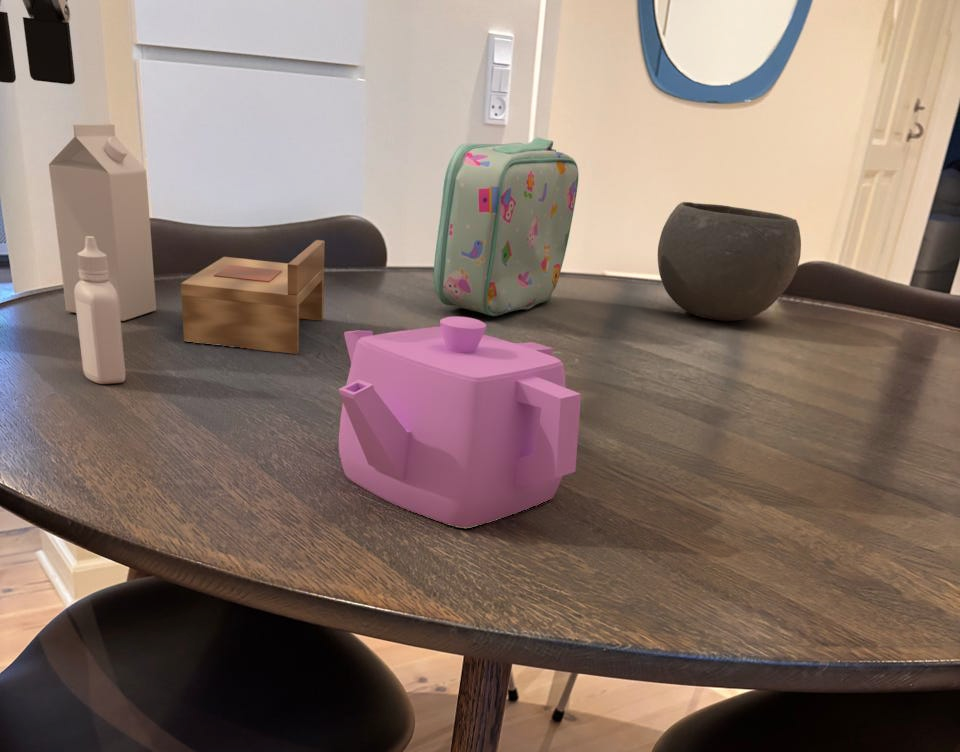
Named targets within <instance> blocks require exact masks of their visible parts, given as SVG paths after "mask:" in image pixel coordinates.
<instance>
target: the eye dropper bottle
mask: <svg viewBox="0 0 960 752" xmlns="http://www.w3.org/2000/svg"><path fill="white" fill-rule="evenodd" d="M77 260H78V269H79V277H80V278H82V279H81V280H80V281H79V282H78V283H77V284H76V286H75V290H74V295H75V304H76V313H75V314H76V321H77V330H78V338H79V339H78V340H79V346H80V356H81V364H82V365H81V366H82V372H83V374H84V376H85V378H87V379H88V380H89V381H91V382H93V383H96V384H99V385H111V384H112V385H113V384H122V383H124V382H125V380H126V376H127V375H126V364H125V354H124V343H123V331H122V323H121V322H122V321H121V320H120V311H119V301H118V295H117V292H116V290H115V288H114V287H113V285H112V284H111V283H110V282H109V281H108V280H107V279H109V271H108V261H107V255H106V254H104V253H102V252H101V251H99V249H98V247H97V244H96V241H95V237H92V236H86V240H85V248H84V250H83V251H81V252H79V253H78V254H77Z"/></svg>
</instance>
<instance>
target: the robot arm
mask: <svg viewBox="0 0 960 752" xmlns="http://www.w3.org/2000/svg"><path fill="white" fill-rule="evenodd" d="M22 2H23V5H24V8H25V10H26V12H27V14H28V17H27V16H26V17H25V16H22V23H23V30H24V39H25V46H26V53H27V55H26V56H27V60H28V61H27V62H28V70H29V76H30V78H31V80H33V81H35V82H44V83H52V84H62V85H72V84H73V85H74V83H75V81H76V75H75V74H76V73H75V66H74V57H73V46H72V38H71V27H70V21H71V11H70V7H69V4H68V0H22ZM1 4H2V0H0V5H1ZM15 66H16V65H15V60H14V53H13V45H12V37H11V30H10V21H9V14H8V12H7V11H0V83H6V84H13V83H15V82H16V81H17V75H16V67H15Z"/></svg>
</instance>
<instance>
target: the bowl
mask: <svg viewBox="0 0 960 752" xmlns="http://www.w3.org/2000/svg"><path fill="white" fill-rule="evenodd" d="M801 253H802V238H801V231H800V226H799V224H798V221H797V219H796V218H793V217H790V216H788V215H787V216H786V215H783V214H781V213H780V214H779V213H774V212H768V211H762V210H756V209H749V208H743V207H735V206H730V205H724V204H714V203H713V204H712V203H698V202H697V203H696V202H690V201H682V202H680V203H678V204H677V205H676V206H675V207H674V209H673V210H672V211H671V213H670V214H669V216H668V218H667V219H666V221H665V223H664V225H663V227H662V230H661V233H660V237H659V241H658V246H657V267H658V273H659V277H660V280H661V283H662V286H663V287H664V290H665V292H666V293H667V295H668V296H669V297H670V299H671V300H672V301H673V302H674V304H676V305H677V306H678V307H680V308H681V309H682V310H684V311H685V312H687V313H689V314H692V315H694V316H695V317H696V316H697V317H699V318H703V319H708V320H712V321H713V320H714V321H720V322H732V321H734V322H735V321H742V320H748V319H750V318H754V317H756V316H758V315H760V314H762V313H764V312H765V311H767V310H768V309H769V308H770V307H771V306H773V304H774V303H775V302H777V300H778V299H779V298H780V297H781V296H782V295H783V293H784V292H785V291H786V290H787V289H788V287H789V286H790V284H791V283H792V282H793V279H794V277H795V275H796V273H797V271H798V268H799V264H800V260H801Z"/></svg>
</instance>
